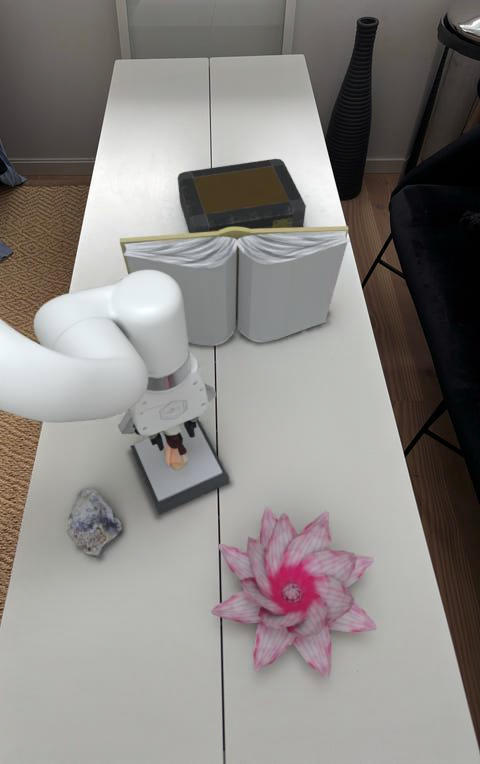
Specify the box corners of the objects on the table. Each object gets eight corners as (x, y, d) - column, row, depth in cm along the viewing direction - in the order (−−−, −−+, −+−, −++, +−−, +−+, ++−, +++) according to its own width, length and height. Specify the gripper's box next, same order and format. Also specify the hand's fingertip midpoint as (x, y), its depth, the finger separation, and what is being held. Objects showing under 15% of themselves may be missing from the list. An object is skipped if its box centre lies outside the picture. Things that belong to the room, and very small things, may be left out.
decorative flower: (357, 529, 84) (378, 488, 71) (373, 688, 71) (402, 671, 59) (217, 525, 84) (214, 484, 72) (209, 683, 72) (204, 666, 59)
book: (324, 307, 110) (346, 219, 88) (330, 340, 106) (355, 257, 84) (142, 319, 108) (119, 233, 86) (142, 353, 105) (118, 272, 83)
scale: (159, 515, 85) (156, 507, 82) (132, 453, 91) (129, 444, 89) (228, 483, 88) (228, 475, 85) (198, 425, 94) (197, 416, 92)
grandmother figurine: (153, 450, 88) (142, 408, 78) (172, 437, 89) (164, 393, 79) (181, 484, 85) (174, 445, 74) (201, 469, 86) (196, 429, 76)
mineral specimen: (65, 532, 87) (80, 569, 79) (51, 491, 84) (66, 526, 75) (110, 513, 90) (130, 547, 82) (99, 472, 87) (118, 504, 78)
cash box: (279, 183, 134) (281, 154, 127) (304, 236, 122) (308, 208, 116) (178, 198, 130) (175, 169, 124) (195, 255, 119) (193, 226, 112)
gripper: (101, 411, 62) (128, 480, 77) (235, 359, 66) (235, 434, 81) (82, 363, 66) (111, 438, 81) (209, 317, 70) (214, 396, 85)
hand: (173, 435), depth 81 cm, fingers open, 4 cm apart
